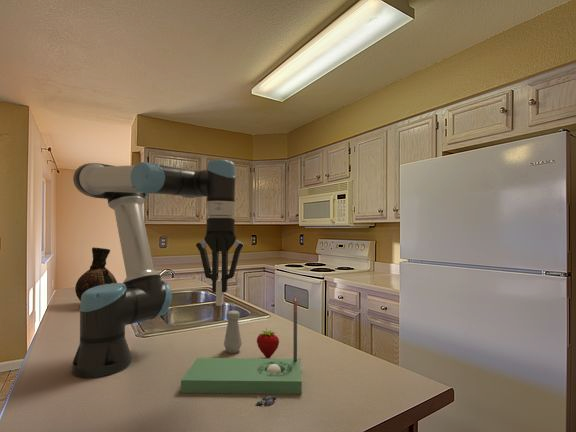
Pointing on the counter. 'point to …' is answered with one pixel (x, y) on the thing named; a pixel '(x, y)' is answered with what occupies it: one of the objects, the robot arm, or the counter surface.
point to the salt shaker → (232, 333)
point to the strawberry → (267, 343)
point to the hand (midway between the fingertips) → (219, 304)
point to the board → (245, 374)
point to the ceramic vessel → (95, 273)
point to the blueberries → (266, 401)
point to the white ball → (273, 369)
